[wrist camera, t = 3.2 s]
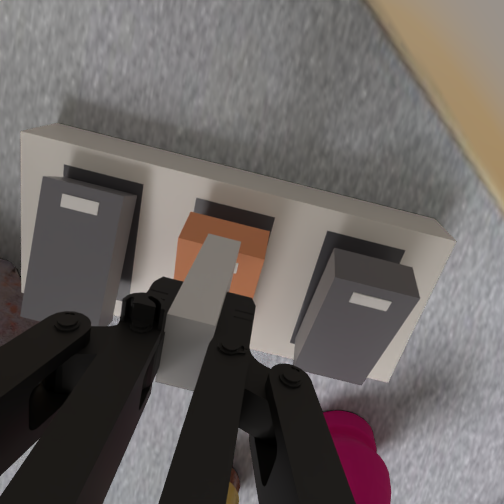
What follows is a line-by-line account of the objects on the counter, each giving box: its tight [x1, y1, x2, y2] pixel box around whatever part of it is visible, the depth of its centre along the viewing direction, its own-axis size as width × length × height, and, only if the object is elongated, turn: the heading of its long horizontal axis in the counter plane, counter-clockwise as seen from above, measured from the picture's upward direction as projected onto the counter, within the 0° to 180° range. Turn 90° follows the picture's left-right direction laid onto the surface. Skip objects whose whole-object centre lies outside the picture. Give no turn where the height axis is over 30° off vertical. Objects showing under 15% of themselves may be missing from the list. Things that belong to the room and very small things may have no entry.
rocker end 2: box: [293, 248, 420, 385], centre depth 24 cm, size 4×8×2 cm, turn 167°
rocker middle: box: [174, 212, 270, 299], centre depth 24 cm, size 4×8×2 cm, turn 167°
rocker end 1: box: [20, 176, 137, 326], centre depth 24 cm, size 4×8×2 cm, turn 167°
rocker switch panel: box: [21, 123, 457, 383], centre depth 28 cm, size 26×11×4 cm, turn 77°
